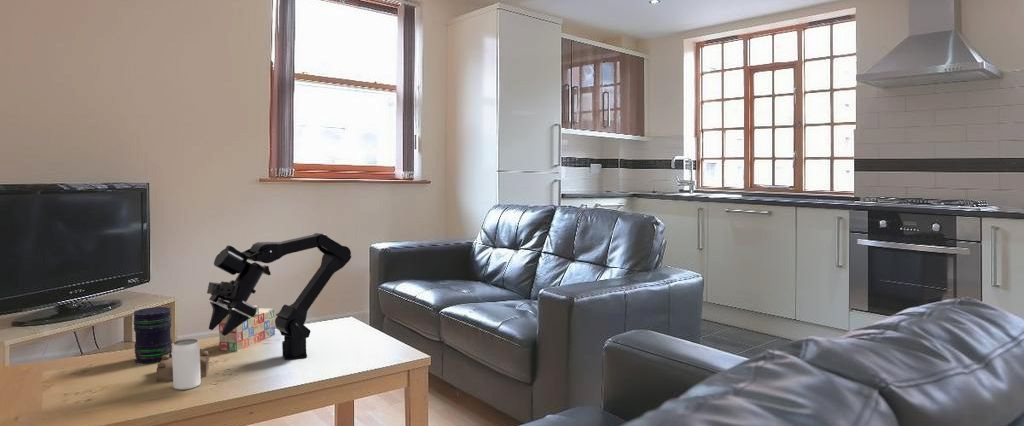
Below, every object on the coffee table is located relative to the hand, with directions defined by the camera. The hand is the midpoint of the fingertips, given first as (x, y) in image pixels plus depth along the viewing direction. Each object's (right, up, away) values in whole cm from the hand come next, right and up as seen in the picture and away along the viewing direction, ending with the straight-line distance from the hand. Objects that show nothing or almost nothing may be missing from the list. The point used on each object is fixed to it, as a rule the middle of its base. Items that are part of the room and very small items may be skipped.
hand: (216, 332), depth 175 cm
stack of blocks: (-5, -10, +34) cm, 36 cm away
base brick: (-10, -12, +1) cm, 16 cm away
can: (-4, -13, -9) cm, 16 cm away
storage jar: (-26, -11, +14) cm, 32 cm away
